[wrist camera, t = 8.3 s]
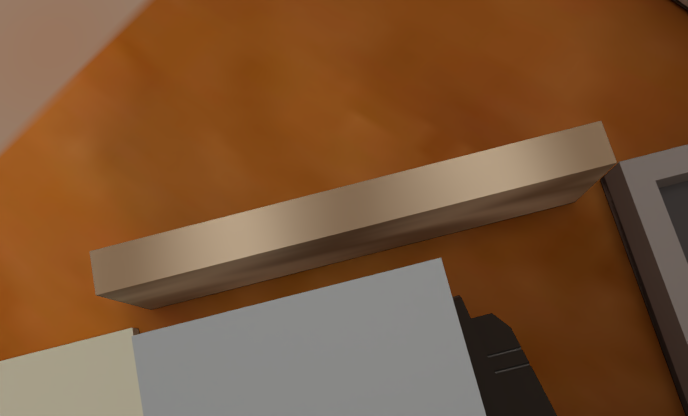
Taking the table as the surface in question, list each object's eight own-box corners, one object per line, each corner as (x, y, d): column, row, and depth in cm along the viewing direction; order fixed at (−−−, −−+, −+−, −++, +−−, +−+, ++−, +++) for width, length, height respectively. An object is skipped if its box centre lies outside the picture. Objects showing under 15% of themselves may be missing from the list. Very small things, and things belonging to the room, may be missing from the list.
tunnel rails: (562, 167, 21) (601, 120, 17) (694, 544, 18) (776, 590, 14) (145, 273, 21) (89, 251, 17) (208, 664, 18) (159, 743, 14)
